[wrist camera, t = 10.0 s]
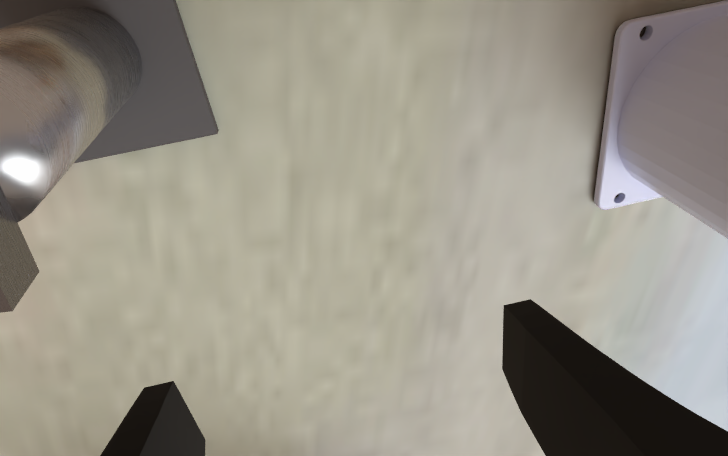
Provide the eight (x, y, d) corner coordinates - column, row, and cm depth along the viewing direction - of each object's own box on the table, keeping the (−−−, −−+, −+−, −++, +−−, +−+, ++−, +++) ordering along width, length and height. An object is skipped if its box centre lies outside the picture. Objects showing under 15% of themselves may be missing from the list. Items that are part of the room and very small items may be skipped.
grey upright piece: (118, -34, 14) (-67, -4, 6) (159, 132, 16) (67, 304, 9) (4, -32, 13) (-357, 3, 5) (65, 139, 16) (-123, 327, 8)
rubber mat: (153, -65, 14) (151, -65, 13) (218, 129, 17) (217, 133, 17) (-60, -28, 13) (-68, -27, 13) (48, 164, 17) (43, 169, 16)
